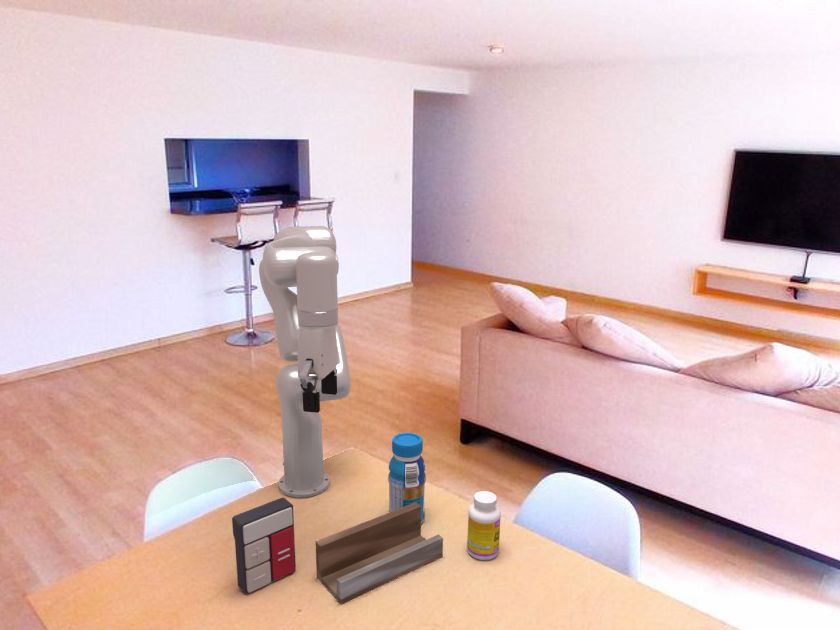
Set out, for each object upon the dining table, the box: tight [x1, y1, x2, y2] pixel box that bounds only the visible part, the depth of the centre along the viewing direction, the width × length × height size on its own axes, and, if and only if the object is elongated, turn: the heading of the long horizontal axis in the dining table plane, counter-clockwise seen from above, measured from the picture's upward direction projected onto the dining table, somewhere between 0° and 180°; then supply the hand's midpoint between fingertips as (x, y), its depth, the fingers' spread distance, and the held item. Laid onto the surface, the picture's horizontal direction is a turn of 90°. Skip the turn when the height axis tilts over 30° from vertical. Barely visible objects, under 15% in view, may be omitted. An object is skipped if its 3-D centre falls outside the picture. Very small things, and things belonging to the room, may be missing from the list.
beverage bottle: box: [387, 432, 427, 524], centre depth 141 cm, size 8×8×20 cm
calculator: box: [231, 496, 297, 595], centre depth 121 cm, size 11×4×15 cm, turn 131°
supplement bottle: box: [466, 490, 502, 561], centre depth 131 cm, size 7×7×13 cm
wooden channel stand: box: [315, 502, 444, 605], centre depth 126 cm, size 10×24×8 cm, turn 127°
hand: (320, 402), depth 124 cm, fingers open, 9 cm apart
